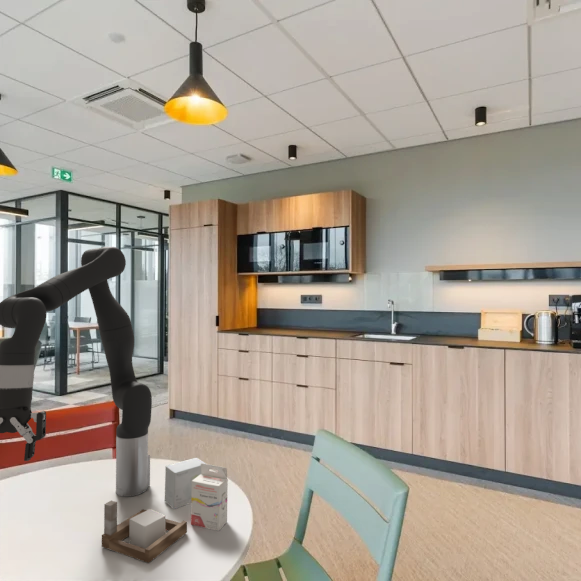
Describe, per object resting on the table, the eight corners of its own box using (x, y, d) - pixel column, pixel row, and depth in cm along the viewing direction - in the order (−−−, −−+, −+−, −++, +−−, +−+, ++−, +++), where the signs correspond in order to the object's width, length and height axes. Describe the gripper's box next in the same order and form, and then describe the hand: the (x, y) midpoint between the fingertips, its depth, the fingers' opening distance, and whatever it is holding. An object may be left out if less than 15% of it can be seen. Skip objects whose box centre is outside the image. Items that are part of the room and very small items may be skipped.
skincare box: (174, 510, 119) (174, 472, 119) (164, 501, 124) (164, 465, 124) (206, 498, 126) (207, 462, 126) (195, 490, 131) (196, 456, 131)
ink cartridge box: (189, 525, 111) (190, 469, 111) (199, 516, 116) (200, 462, 116) (219, 531, 108) (219, 473, 108) (228, 522, 113) (228, 466, 113)
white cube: (129, 543, 103) (129, 518, 103) (149, 532, 108) (150, 508, 108) (144, 552, 100) (145, 526, 100) (165, 540, 104) (165, 515, 105)
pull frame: (142, 519, 113) (143, 482, 113) (186, 532, 107) (187, 493, 107) (101, 546, 101) (102, 505, 101) (148, 563, 95) (149, 519, 95)
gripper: (53, 384, 100) (47, 455, 98) (-15, 384, 97) (-23, 458, 95) (42, 386, 93) (35, 464, 91) (-31, 387, 90) (-41, 467, 88)
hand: (5, 461), depth 93 cm, fingers open, 8 cm apart
